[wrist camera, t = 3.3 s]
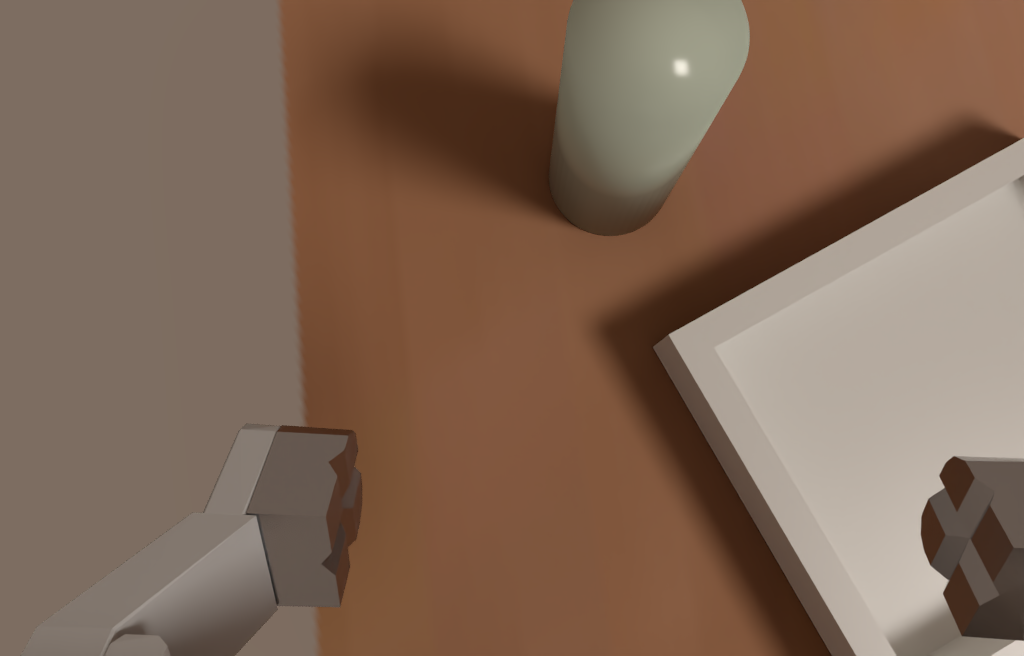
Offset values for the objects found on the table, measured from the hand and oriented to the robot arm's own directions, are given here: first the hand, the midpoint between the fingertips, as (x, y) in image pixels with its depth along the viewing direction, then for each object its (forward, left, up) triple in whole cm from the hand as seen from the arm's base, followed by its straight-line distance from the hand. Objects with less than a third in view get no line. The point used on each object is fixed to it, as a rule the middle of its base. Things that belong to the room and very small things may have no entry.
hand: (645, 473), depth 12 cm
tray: (+14, -6, -22) cm, 27 cm away
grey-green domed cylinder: (+7, +9, -22) cm, 25 cm away
